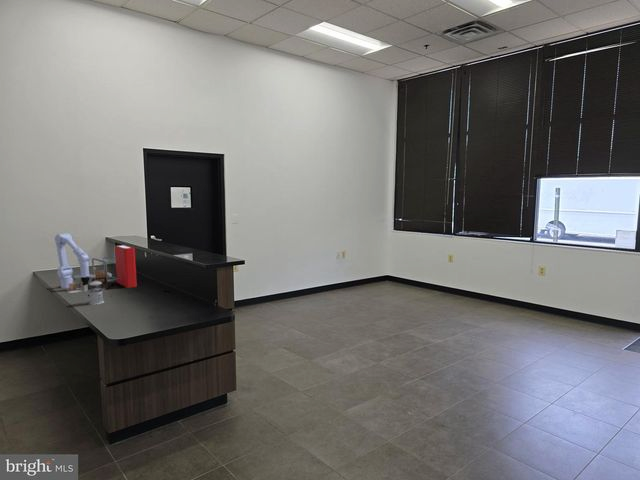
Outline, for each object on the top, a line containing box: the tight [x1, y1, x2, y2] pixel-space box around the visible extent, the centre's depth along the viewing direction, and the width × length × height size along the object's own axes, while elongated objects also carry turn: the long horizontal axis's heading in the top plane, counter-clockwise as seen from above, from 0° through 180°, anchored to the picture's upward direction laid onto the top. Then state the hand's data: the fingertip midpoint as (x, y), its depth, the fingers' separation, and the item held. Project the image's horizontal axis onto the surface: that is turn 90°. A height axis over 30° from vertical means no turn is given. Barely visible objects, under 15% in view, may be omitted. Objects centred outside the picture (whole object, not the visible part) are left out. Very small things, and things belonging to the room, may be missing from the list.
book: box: [114, 243, 138, 289], centre depth 348 cm, size 27×8×32 cm, turn 41°
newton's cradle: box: [91, 256, 117, 282], centre depth 372 cm, size 30×10×18 cm, turn 48°
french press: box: [88, 267, 105, 306], centre depth 293 cm, size 10×12×25 cm
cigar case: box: [91, 268, 108, 284], centre depth 353 cm, size 11×2×12 cm, turn 124°
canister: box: [68, 282, 77, 291], centre depth 328 cm, size 4×4×4 cm
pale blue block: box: [67, 284, 89, 294], centre depth 321 cm, size 6×12×6 cm, turn 98°
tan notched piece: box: [67, 282, 84, 291], centre depth 329 cm, size 6×12×6 cm, turn 98°
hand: (85, 286), depth 330 cm, fingers closed
